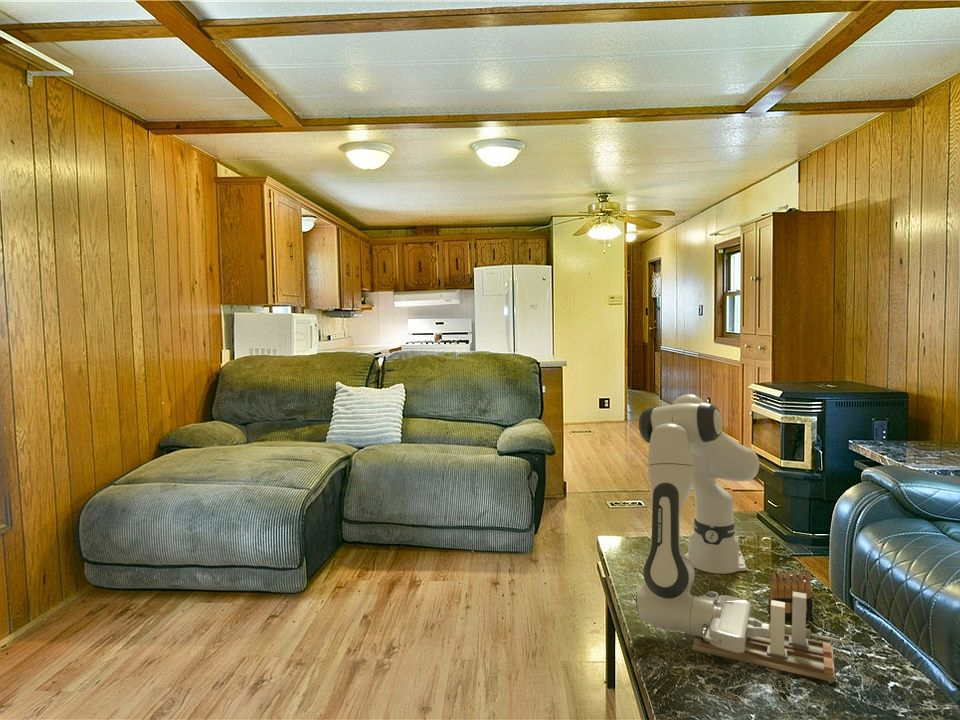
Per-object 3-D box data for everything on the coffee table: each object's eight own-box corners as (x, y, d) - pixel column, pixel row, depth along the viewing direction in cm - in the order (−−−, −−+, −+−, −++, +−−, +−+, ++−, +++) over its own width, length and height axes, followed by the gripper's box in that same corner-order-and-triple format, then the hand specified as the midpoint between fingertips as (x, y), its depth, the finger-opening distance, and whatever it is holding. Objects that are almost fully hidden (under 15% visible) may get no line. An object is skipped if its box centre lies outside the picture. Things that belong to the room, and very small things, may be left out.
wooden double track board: (700, 625, 156) (700, 615, 156) (832, 652, 143) (832, 642, 143) (692, 649, 145) (692, 639, 145) (834, 682, 132) (835, 671, 131)
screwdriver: (768, 634, 152) (769, 624, 152) (769, 628, 154) (769, 619, 154) (849, 651, 144) (849, 640, 144) (848, 644, 146) (848, 634, 146)
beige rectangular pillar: (767, 649, 142) (768, 598, 141) (787, 653, 140) (788, 602, 139) (766, 657, 139) (767, 605, 138) (786, 661, 137) (787, 609, 136)
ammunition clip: (771, 617, 160) (772, 572, 159) (767, 614, 162) (768, 569, 161) (812, 617, 160) (813, 572, 159) (809, 614, 162) (810, 569, 161)
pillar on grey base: (788, 639, 146) (790, 590, 145) (808, 643, 144) (809, 593, 143) (788, 646, 143) (789, 596, 142) (808, 650, 141) (809, 599, 140)
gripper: (699, 624, 137) (768, 638, 130) (711, 588, 155) (772, 599, 148) (699, 651, 137) (767, 667, 131) (711, 612, 155) (772, 624, 149)
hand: (770, 631), depth 140 cm, fingers closed, pressing on beige rectangular pillar
